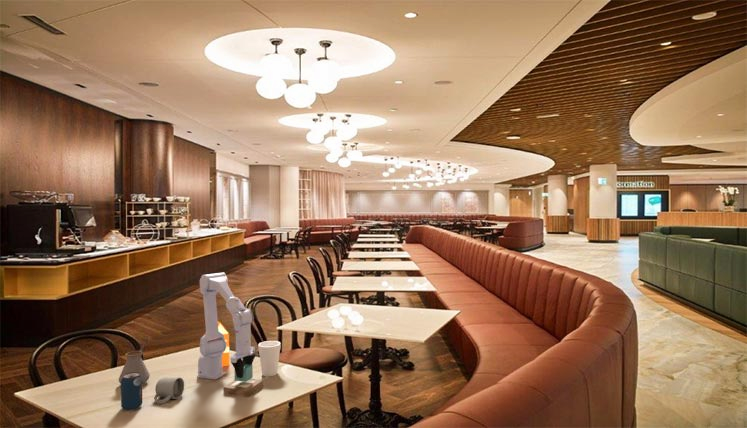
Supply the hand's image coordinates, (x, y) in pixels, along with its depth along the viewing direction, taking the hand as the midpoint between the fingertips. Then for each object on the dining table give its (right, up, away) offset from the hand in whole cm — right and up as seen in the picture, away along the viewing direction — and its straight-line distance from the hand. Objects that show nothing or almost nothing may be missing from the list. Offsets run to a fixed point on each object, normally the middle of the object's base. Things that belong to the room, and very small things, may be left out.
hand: (243, 375), depth 192 cm
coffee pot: (-47, -6, +11) cm, 48 cm away
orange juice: (-20, -5, +30) cm, 37 cm away
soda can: (-36, -7, -16) cm, 40 cm away
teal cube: (0, -2, 0) cm, 2 cm away
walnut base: (0, -6, 0) cm, 6 cm away
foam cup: (+6, -6, +18) cm, 20 cm away
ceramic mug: (-26, -7, -8) cm, 28 cm away
